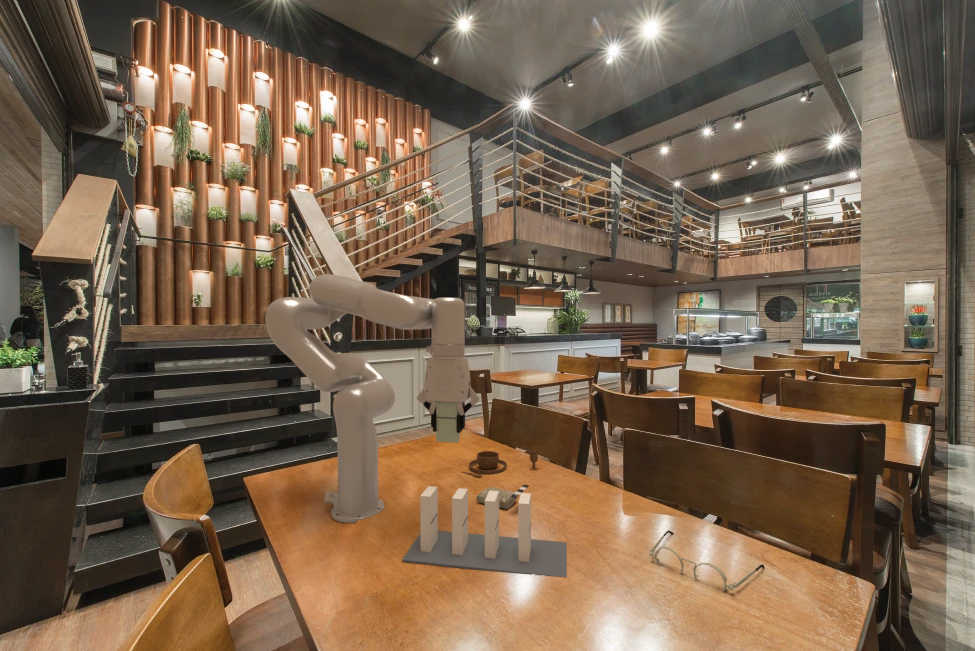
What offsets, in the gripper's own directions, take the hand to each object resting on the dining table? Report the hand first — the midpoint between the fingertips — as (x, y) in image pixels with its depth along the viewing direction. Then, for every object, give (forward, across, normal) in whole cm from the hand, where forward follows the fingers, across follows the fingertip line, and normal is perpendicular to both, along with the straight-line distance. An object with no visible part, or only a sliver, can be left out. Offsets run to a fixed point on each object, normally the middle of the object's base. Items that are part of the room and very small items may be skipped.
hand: (448, 430), depth 96 cm
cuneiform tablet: (+19, +17, +9) cm, 27 cm away
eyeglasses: (+22, +52, -8) cm, 57 cm away
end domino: (+3, 0, 0) cm, 3 cm away
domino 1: (+21, -1, -11) cm, 23 cm away
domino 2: (+21, +6, -11) cm, 24 cm away
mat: (+21, +11, -11) cm, 26 cm away
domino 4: (+21, +19, -11) cm, 30 cm away
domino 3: (+21, +12, -11) cm, 26 cm away
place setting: (+22, +6, +35) cm, 42 cm away
